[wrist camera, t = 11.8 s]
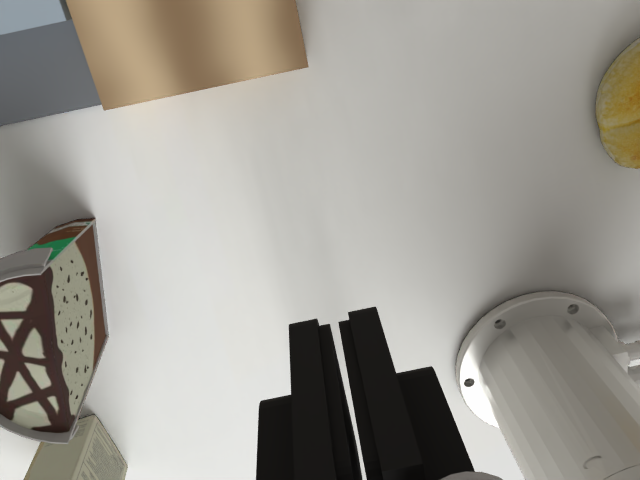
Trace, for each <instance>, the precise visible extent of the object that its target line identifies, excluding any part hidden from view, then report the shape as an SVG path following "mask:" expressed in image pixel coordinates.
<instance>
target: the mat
mask: <svg viewBox="0 0 640 480" xmlns="http://www.w3.org/2000/svg"><path fill="white" fill-rule="evenodd" d="M101 104H102V103H101V101H100V98H99V95H98V92H97V89H96V86H95V83H94V80H93V77H92V75H91V72H90V69H89V66H88V63H87V60H86V57H85V54H84V52H83V49H82V46H81V43H80V40H79V37H78V34H77V31H76V28H75V26H74V23H73V20H72V19H71V20H67V21H62V22H58V23H53V24H48V25H44V26H39V27H35V28H30V29H25V30H21V31H16V32H11V33H7V34H2V35H0V126H3V125H7V124H12V123H17V122H22V121H26V120H31V119H36V118H40V117H45V116H50V115H54V114H59V113H64V112H69V111H73V110H78V109H83V108H87V107H92V106H97V105H101Z"/></svg>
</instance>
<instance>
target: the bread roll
mask: <svg viewBox="0 0 640 480" xmlns="http://www.w3.org/2000/svg"><path fill="white" fill-rule="evenodd" d="M595 110H596V118H597V123H598V126H599V128H600V138H601V142H602V145H603V146H604V148H605V150H606V151H607V153H608V155H609V156H610V157H611V158H612V159H613V160H614V161H615V162H616V163H617V164H619V165H620V166H624V167H628V168H635V169H639V168H640V38H638V39H637V40H635V41H634V42H633V43H632V44H630V45H629V46H628V47H627V48H626V49H625V50H624V51H623V52H622V53H621V54H620V55H619V56H618V57H617V58H616V59H615V60H614V62H613V63H612V64H611V66H610V67H609V69H608V70H607V72H606V73H605V75H604V77H603V79H602V81H601V83H600V86H599V88H598V92H597V98H596V107H595Z"/></svg>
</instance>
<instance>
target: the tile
mask: <svg viewBox="0 0 640 480" xmlns="http://www.w3.org/2000/svg"><path fill="white" fill-rule="evenodd" d="M71 19H72V17H71V14H70V11H69V8H68V5H67V2H66V0H0V35H2V34H7V33H11V32H16V31H21V30H25V29H30V28H35V27H39V26H44V25H48V24H53V23H58V22H62V21H67V20H71Z"/></svg>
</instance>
